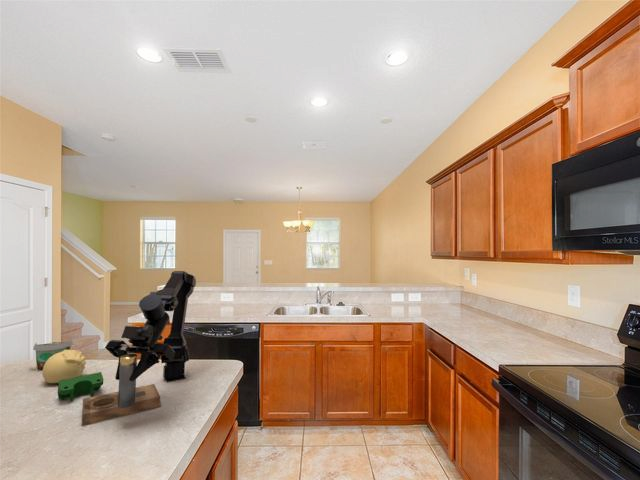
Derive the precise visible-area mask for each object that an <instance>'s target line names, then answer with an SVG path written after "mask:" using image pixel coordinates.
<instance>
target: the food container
mask: <svg viewBox="0 0 640 480" xmlns="http://www.w3.org/2000/svg"><path fill="white" fill-rule="evenodd" d="M73 345H74V344H73V340H72V339H69V340H68V341H65V342H64V341H63V342H59V341H58V342H56V341H55V342H49V343H43V344H41V343H40V344H37V342H35V343H34V345H33V350H34V351H35V359H36V361H35V362H36V370H37V369H38V371H42V370H43V367H44V365H45V363H46V361H47V360H48V359H49V358H50V357H51V356H53V355H54V354H57V353H59V352H62V351H64V350H71V346H73Z"/></svg>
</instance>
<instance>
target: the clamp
mask: <svg viewBox="0 0 640 480" xmlns="http://www.w3.org/2000/svg"><path fill="white" fill-rule="evenodd" d="M57 384H58V385H57V398H58V399H59V400H64V399H65V400H66V399H68V398H69V399H70V403H73V402H74V398H75V397H78V396H80V395H85V394H89V395H90V397H94V396H93V395H94V392H98V391H99V390H100V389H101V388H102V386H103V384H104V377H103V374H102V371H100V372H95V373H90V374H85V375H80V376H79V377H74V378H70V379H65V380H60V381H59V383H57Z"/></svg>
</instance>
